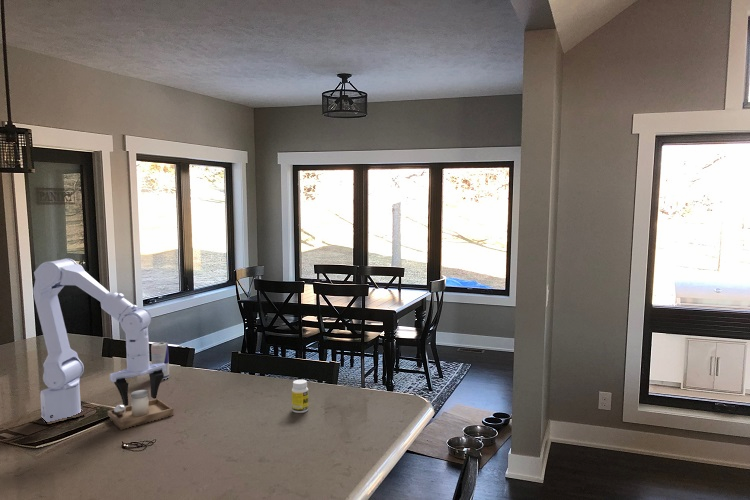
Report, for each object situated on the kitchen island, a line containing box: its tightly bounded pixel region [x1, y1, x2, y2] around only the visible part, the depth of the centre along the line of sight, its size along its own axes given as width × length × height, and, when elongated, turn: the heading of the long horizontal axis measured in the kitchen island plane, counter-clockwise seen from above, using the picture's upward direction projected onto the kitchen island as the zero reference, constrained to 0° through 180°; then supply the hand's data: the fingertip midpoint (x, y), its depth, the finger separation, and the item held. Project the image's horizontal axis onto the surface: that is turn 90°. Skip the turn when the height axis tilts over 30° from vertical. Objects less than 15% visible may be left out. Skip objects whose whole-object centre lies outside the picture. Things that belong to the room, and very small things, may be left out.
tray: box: [107, 397, 175, 431], centre depth 151 cm, size 14×11×2 cm
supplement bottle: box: [291, 379, 310, 414], centre depth 154 cm, size 5×5×8 cm
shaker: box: [130, 389, 150, 417], centre depth 151 cm, size 5×5×6 cm
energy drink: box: [150, 341, 170, 381], centre depth 183 cm, size 5×5×12 cm
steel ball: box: [113, 404, 126, 416], centre depth 150 cm, size 3×3×3 cm
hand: (139, 401), depth 150 cm, fingers open, 7 cm apart
